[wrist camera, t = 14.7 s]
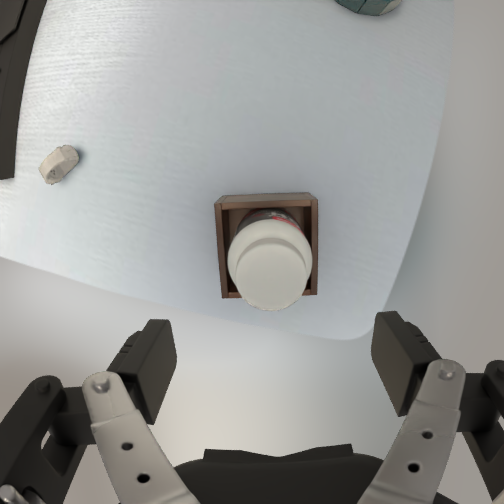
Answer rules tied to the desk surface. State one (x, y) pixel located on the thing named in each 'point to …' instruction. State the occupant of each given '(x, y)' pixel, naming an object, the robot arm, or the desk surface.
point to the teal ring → (370, 6)
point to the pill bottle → (269, 259)
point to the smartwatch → (58, 164)
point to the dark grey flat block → (14, 70)
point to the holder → (238, 206)
